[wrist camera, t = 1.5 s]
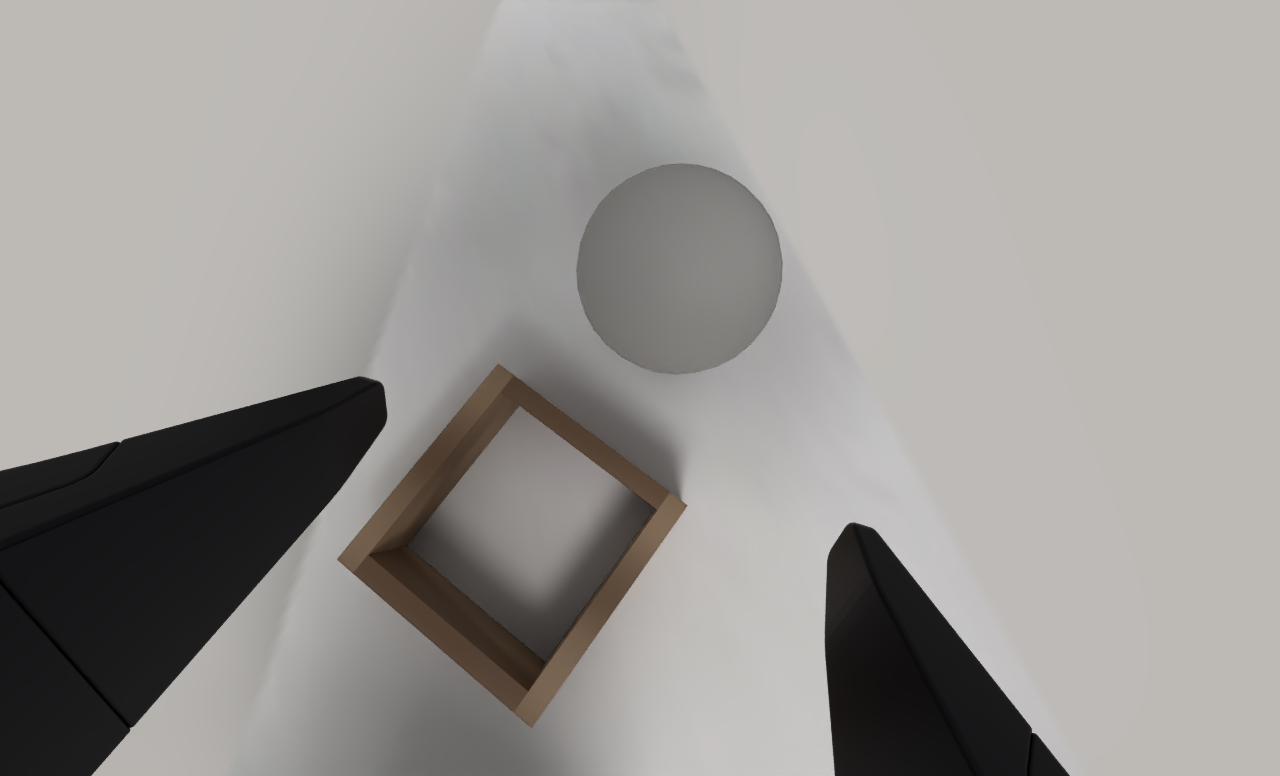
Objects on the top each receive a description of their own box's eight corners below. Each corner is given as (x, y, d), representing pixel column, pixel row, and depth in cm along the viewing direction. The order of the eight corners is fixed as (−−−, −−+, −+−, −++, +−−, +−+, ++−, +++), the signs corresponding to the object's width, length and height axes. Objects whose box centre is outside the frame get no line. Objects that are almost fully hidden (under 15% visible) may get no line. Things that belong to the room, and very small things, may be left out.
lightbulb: (754, 384, 22) (856, 282, 12) (629, 435, 22) (616, 378, 11) (700, 269, 24) (748, 80, 13) (581, 314, 23) (526, 159, 12)
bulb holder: (548, 693, 20) (531, 727, 17) (379, 550, 21) (336, 559, 18) (681, 504, 21) (687, 505, 18) (517, 380, 22) (498, 363, 20)
